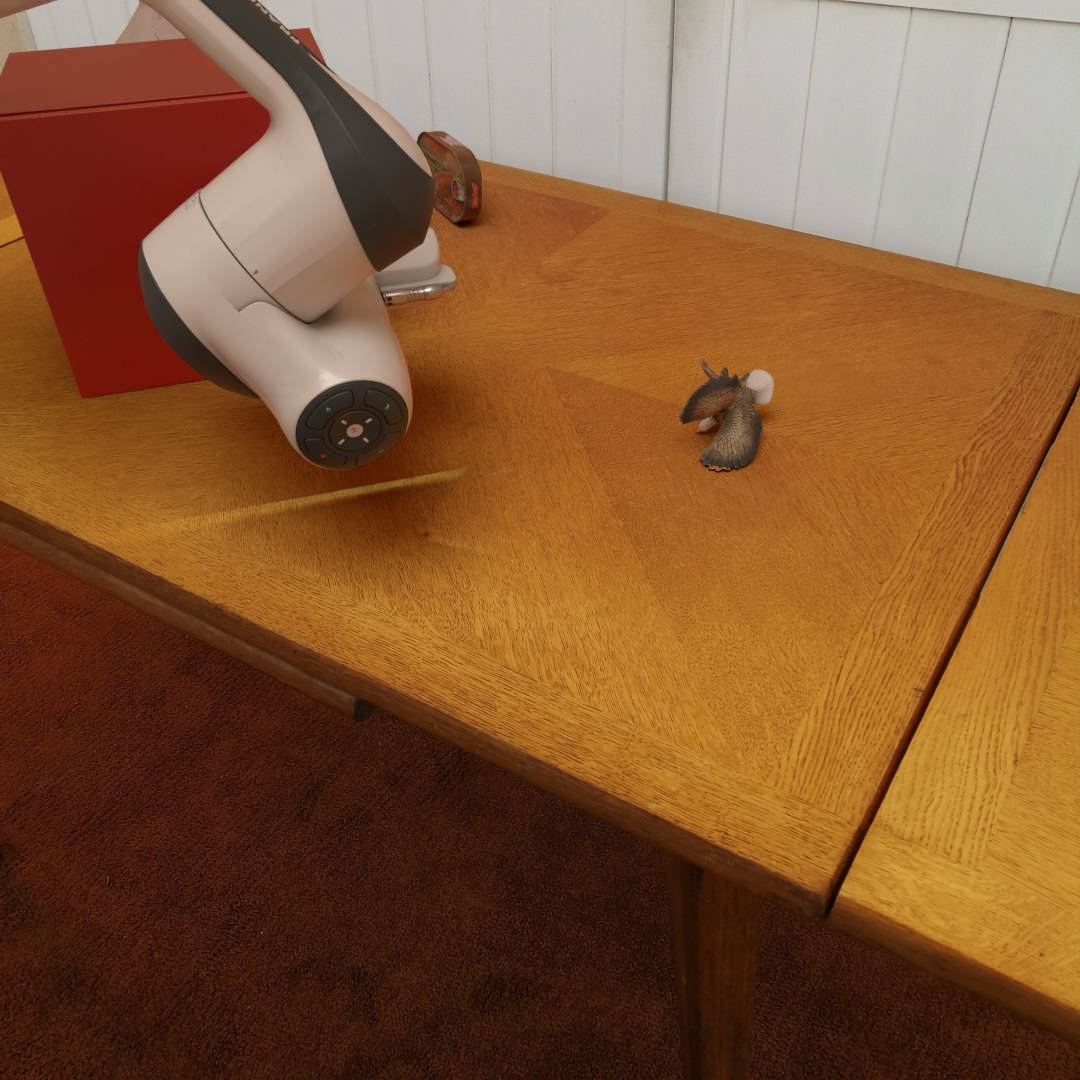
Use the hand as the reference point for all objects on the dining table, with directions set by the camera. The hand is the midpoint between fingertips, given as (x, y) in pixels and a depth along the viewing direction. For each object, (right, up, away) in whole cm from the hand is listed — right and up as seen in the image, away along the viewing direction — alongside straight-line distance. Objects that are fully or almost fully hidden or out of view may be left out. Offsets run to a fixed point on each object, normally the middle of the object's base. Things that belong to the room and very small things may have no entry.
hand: (300, 235), depth 82 cm
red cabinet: (-12, -3, +19) cm, 22 cm away
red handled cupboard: (-8, -11, +10) cm, 17 cm away
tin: (+9, +15, +41) cm, 45 cm away
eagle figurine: (+35, -16, +3) cm, 39 cm away
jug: (-26, +25, +52) cm, 63 cm away
